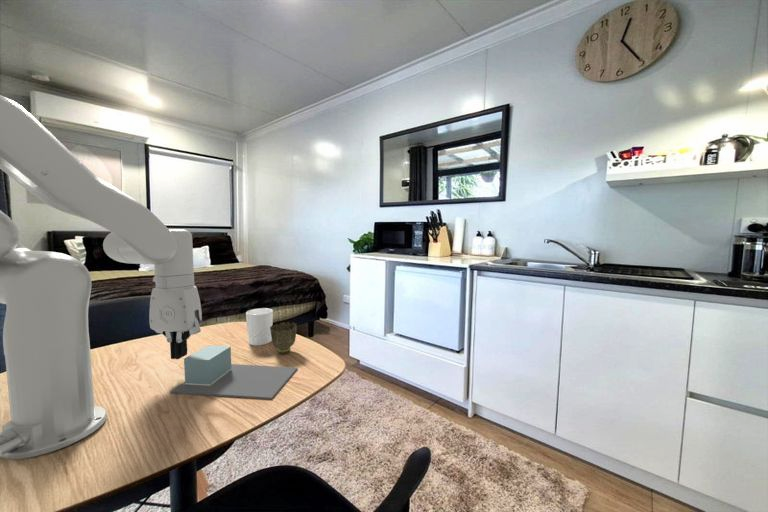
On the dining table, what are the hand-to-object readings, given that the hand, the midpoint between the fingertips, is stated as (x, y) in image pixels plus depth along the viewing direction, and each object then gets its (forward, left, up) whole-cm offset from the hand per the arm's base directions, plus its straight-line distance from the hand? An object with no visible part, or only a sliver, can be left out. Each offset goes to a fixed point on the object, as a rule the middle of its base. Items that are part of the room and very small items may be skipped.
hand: (179, 356), depth 72 cm
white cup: (+24, -8, -5) cm, 26 cm away
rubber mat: (0, -15, -5) cm, 16 cm away
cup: (+17, -19, -5) cm, 26 cm away
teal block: (0, -8, -5) cm, 9 cm away
